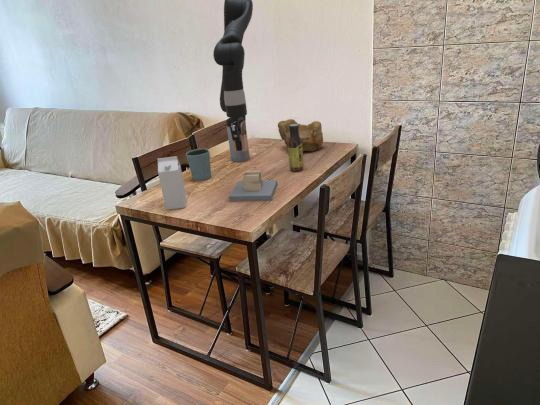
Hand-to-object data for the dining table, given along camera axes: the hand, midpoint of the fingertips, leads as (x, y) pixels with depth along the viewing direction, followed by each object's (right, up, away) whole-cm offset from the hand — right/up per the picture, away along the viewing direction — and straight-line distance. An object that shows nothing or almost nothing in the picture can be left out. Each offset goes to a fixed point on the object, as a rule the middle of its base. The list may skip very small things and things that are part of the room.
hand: (241, 148), depth 151 cm
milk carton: (-25, -22, +1) cm, 33 cm away
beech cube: (+5, -15, +5) cm, 16 cm away
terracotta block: (0, 0, 0) cm, 0 cm away
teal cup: (-20, -9, +28) cm, 36 cm away
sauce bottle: (+23, -6, +27) cm, 36 cm away
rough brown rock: (+25, +6, +53) cm, 59 cm away
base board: (+5, -17, +6) cm, 18 cm away
